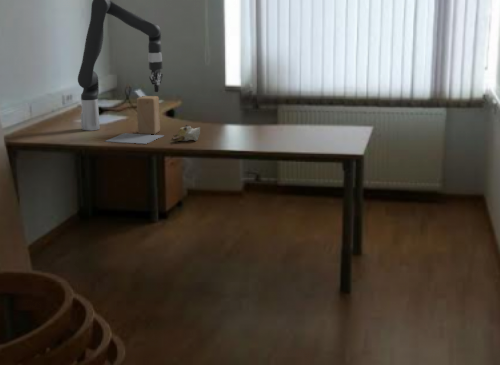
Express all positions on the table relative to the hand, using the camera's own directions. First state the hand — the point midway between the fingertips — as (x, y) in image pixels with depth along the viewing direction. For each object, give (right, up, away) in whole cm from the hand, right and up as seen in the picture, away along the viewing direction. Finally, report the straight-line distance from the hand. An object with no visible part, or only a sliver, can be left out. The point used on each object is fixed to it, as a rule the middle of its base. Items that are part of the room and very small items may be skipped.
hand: (156, 91), depth 439 cm
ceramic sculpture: (+19, -29, -27) cm, 44 cm away
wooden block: (-4, -24, -5) cm, 24 cm away
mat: (-9, -28, -21) cm, 36 cm away
